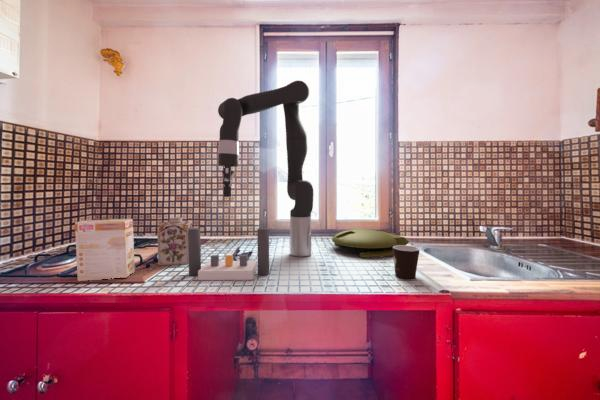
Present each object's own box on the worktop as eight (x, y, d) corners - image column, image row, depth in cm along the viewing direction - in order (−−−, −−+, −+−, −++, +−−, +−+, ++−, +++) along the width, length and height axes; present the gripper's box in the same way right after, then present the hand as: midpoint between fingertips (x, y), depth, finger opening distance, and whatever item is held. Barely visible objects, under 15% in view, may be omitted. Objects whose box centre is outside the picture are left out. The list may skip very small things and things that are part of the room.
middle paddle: (233, 264, 101) (233, 254, 100) (232, 266, 99) (232, 255, 99) (226, 264, 100) (226, 254, 100) (225, 266, 99) (225, 255, 99)
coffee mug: (416, 282, 92) (417, 252, 91) (389, 278, 96) (389, 248, 96) (422, 273, 101) (422, 245, 101) (397, 269, 106) (398, 242, 105)
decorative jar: (157, 266, 109) (156, 219, 108) (165, 258, 121) (164, 216, 119) (190, 264, 112) (189, 219, 111) (194, 256, 123) (193, 215, 122)
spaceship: (380, 241, 158) (380, 224, 157) (419, 255, 129) (420, 233, 128) (322, 245, 147) (322, 227, 146) (351, 261, 118) (351, 238, 117)
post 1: (202, 272, 102) (201, 228, 101) (199, 276, 98) (198, 230, 97) (191, 272, 102) (190, 228, 101) (187, 276, 98) (186, 230, 97)
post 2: (269, 271, 102) (269, 228, 101) (268, 275, 98) (268, 230, 97) (258, 272, 102) (258, 228, 101) (257, 275, 98) (256, 230, 97)
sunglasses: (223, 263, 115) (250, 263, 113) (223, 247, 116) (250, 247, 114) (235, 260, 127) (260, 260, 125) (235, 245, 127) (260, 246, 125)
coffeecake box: (135, 272, 101) (133, 218, 100) (126, 279, 94) (124, 221, 93) (89, 274, 99) (86, 219, 98) (76, 281, 92) (73, 222, 91)
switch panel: (257, 268, 106) (256, 251, 106) (252, 279, 94) (252, 260, 94) (208, 268, 106) (208, 251, 105) (198, 280, 94) (197, 260, 93)
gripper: (238, 151, 100) (236, 197, 101) (239, 156, 114) (237, 196, 115) (216, 150, 99) (215, 196, 100) (220, 155, 113) (218, 195, 114)
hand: (227, 196), depth 107 cm, fingers open, 8 cm apart
